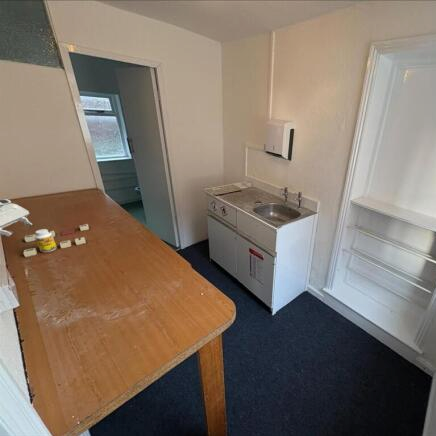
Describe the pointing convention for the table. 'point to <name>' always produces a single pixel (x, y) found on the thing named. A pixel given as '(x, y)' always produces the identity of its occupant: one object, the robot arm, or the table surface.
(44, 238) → the supplement bottle
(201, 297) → the table surface
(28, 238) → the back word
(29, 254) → the front word
